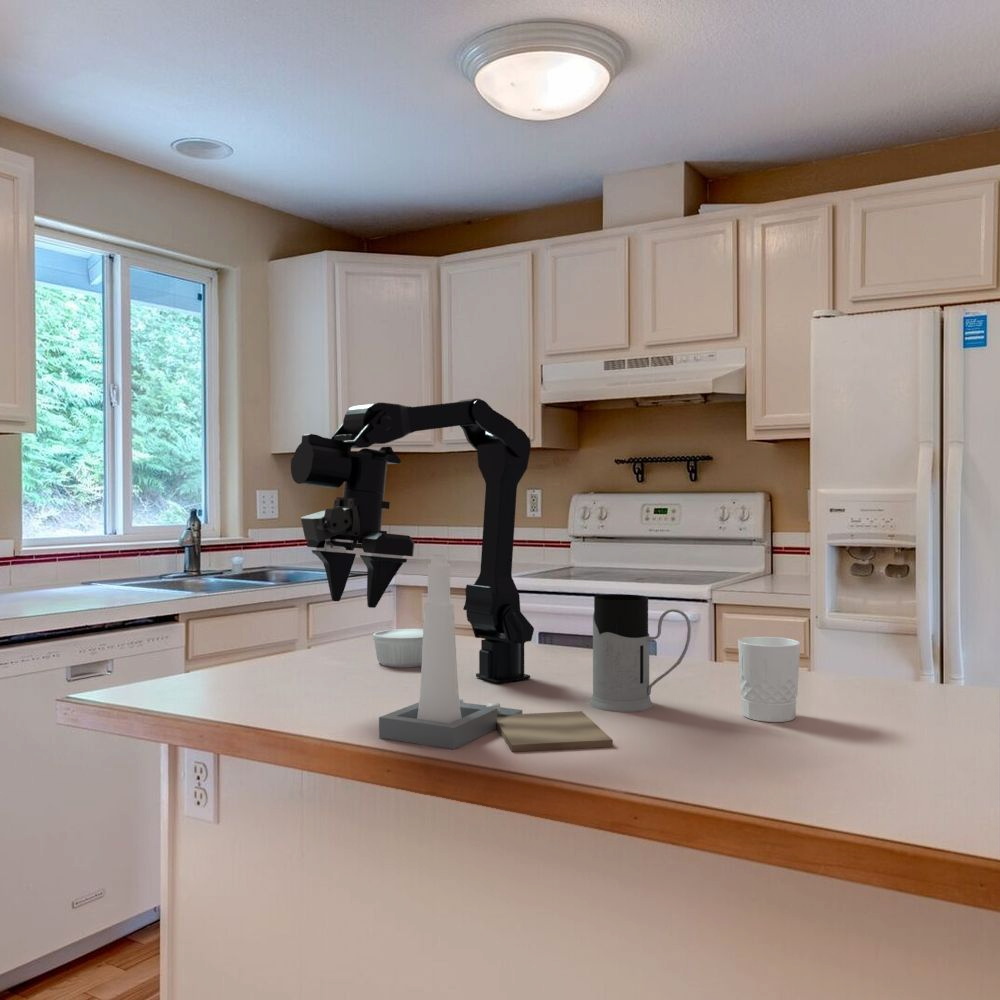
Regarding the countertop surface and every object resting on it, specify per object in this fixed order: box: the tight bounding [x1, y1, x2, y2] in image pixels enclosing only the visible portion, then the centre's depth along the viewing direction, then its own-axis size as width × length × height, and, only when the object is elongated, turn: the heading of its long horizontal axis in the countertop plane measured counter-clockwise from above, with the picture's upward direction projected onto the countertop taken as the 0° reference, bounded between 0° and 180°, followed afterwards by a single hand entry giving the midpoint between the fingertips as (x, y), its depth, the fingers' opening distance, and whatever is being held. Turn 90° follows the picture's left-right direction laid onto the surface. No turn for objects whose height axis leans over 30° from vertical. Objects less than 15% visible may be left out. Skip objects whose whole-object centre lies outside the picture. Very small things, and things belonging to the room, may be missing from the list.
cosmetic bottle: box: [417, 554, 462, 723], centre depth 114 cm, size 6×6×22 cm
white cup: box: [737, 635, 801, 723], centre depth 122 cm, size 8×8×10 cm
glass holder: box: [589, 593, 692, 713], centre depth 128 cm, size 9×14×15 cm, turn 64°
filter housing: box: [378, 697, 523, 750], centre depth 117 cm, size 18×11×2 cm, turn 152°
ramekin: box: [372, 628, 423, 668], centre depth 160 cm, size 11×11×5 cm
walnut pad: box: [497, 710, 614, 753], centre depth 114 cm, size 14×12×1 cm
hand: (353, 604), depth 128 cm, fingers open, 9 cm apart
